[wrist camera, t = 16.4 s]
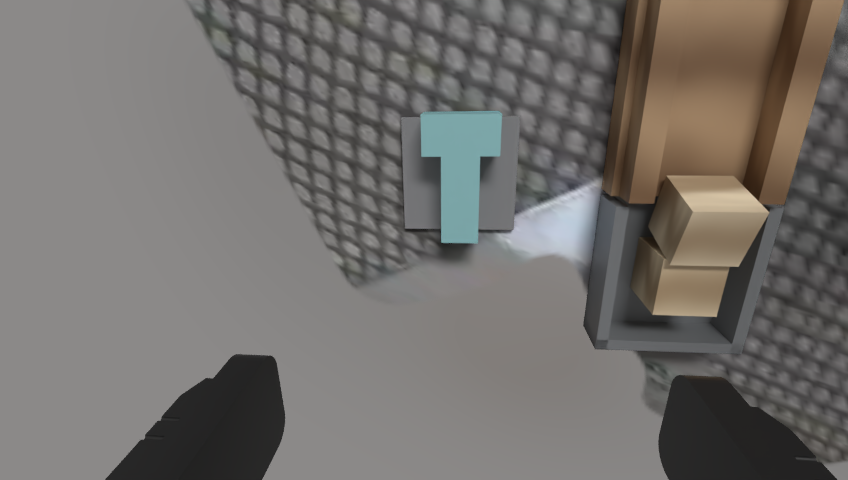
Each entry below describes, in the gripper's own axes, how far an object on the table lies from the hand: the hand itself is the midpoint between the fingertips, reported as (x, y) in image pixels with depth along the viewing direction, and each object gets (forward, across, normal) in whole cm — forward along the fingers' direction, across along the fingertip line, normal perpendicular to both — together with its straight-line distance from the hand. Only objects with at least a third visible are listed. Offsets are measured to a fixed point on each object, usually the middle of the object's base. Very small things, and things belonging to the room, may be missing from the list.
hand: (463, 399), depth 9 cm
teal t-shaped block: (+21, 0, -4) cm, 22 cm away
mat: (+23, 0, 0) cm, 23 cm away
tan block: (+22, -15, +7) cm, 28 cm away
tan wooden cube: (+21, -15, +2) cm, 26 cm away
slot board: (+23, -15, -7) cm, 28 cm away
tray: (+23, -15, +7) cm, 28 cm away
